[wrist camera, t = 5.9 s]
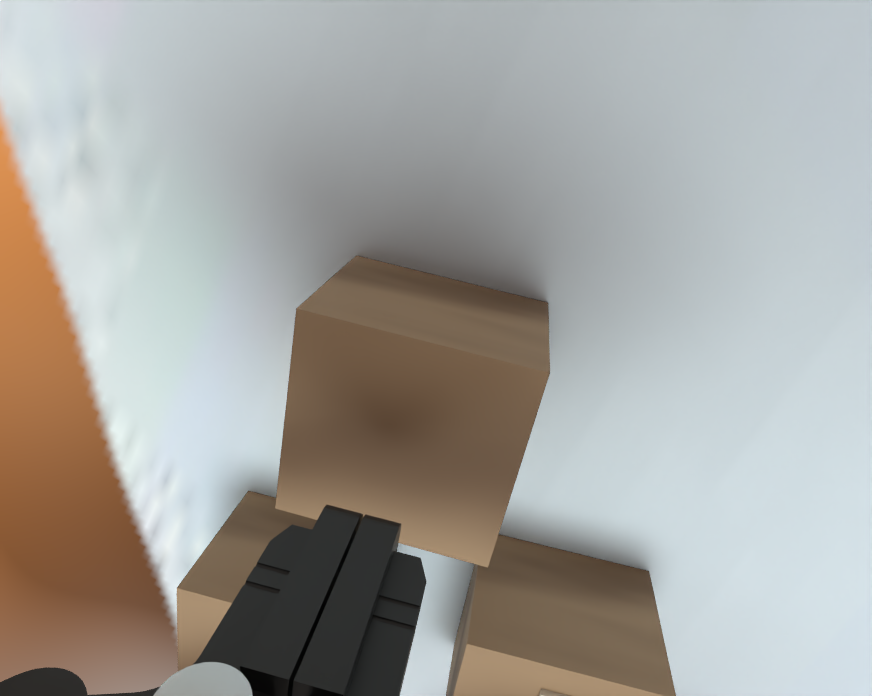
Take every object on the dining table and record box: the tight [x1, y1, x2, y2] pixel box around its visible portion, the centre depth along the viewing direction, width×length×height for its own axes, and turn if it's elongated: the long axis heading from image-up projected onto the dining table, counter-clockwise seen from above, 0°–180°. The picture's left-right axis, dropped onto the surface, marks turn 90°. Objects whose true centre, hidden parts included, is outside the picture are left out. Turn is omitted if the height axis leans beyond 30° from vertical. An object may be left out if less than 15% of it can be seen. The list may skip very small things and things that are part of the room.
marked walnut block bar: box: [446, 534, 676, 696], centre depth 20 cm, size 6×6×5 cm
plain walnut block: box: [275, 256, 550, 568], centre depth 17 cm, size 6×6×5 cm
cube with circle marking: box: [177, 491, 317, 671], centre depth 21 cm, size 6×6×5 cm
